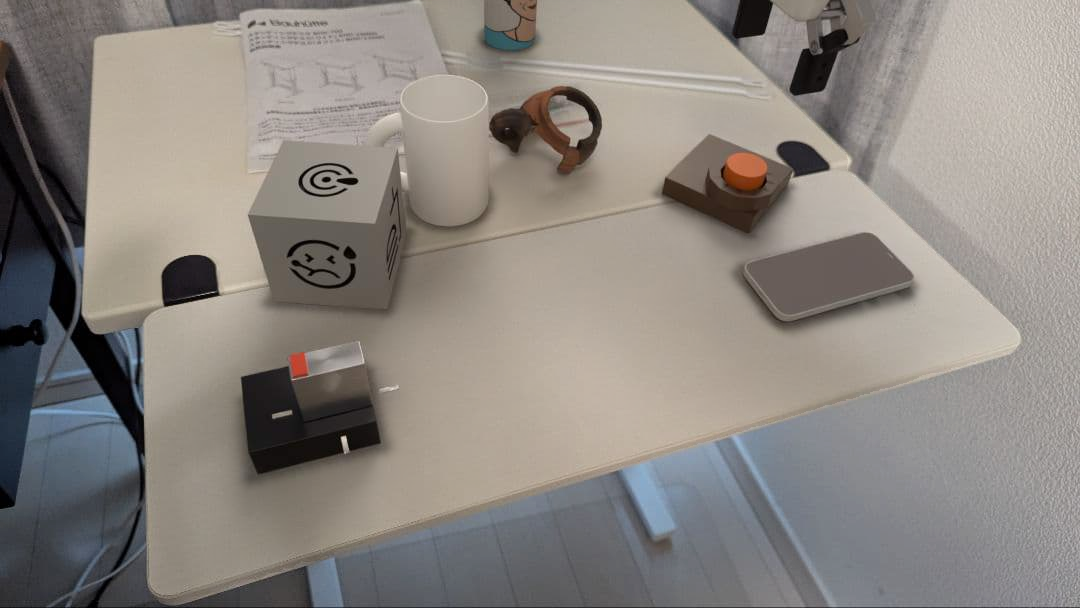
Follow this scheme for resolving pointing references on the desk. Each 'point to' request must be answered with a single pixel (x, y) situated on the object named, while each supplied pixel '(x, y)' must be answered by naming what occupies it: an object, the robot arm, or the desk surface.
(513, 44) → the cup
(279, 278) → the icon cube
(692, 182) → the control block
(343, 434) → the switch panel
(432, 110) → the mug
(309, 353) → the red-banded grey bar
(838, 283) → the smartphone
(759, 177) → the power button
